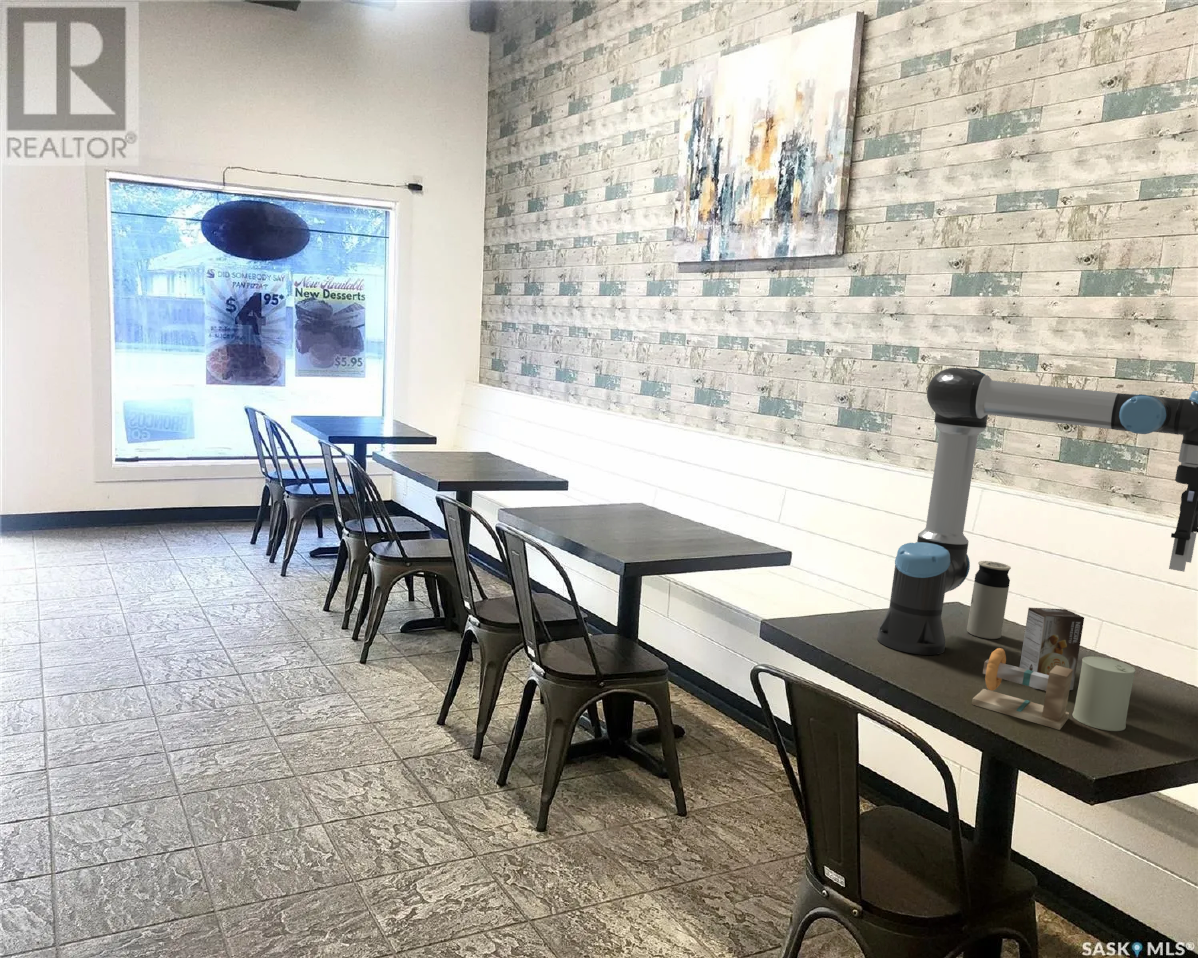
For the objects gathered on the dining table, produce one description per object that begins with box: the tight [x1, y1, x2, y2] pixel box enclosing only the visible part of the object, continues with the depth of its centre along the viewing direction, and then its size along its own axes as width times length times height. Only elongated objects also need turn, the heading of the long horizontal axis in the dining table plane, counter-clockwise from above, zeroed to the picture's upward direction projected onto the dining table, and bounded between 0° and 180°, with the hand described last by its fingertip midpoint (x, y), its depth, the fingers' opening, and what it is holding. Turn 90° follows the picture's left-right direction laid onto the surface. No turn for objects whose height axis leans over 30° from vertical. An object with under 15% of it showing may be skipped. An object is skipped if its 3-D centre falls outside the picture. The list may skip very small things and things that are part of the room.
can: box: [1072, 655, 1137, 732], centre depth 183 cm, size 9×9×12 cm
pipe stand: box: [971, 658, 1073, 731], centre depth 185 cm, size 16×8×10 cm, turn 53°
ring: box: [984, 647, 1007, 691], centre depth 187 cm, size 2×8×8 cm, turn 143°
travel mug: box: [966, 560, 1012, 640], centre depth 236 cm, size 8×8×18 cm
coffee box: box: [1019, 607, 1085, 691], centre depth 202 cm, size 9×6×16 cm
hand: (1180, 565), depth 201 cm, fingers open, 13 cm apart
